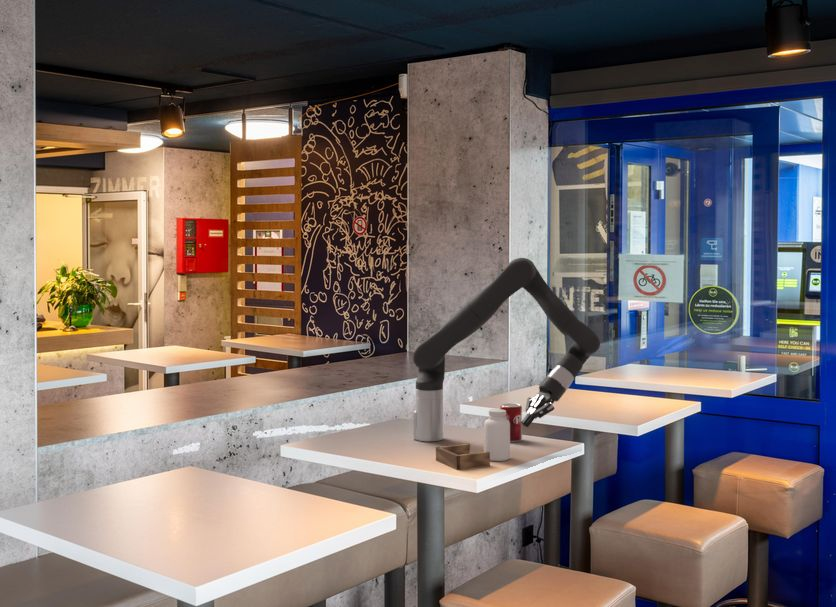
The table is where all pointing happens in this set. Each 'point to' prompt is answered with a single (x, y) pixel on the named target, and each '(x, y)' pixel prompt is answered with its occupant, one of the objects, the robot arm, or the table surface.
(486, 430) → the pill bottle
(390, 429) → the table surface
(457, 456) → the holder
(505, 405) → the soda can
